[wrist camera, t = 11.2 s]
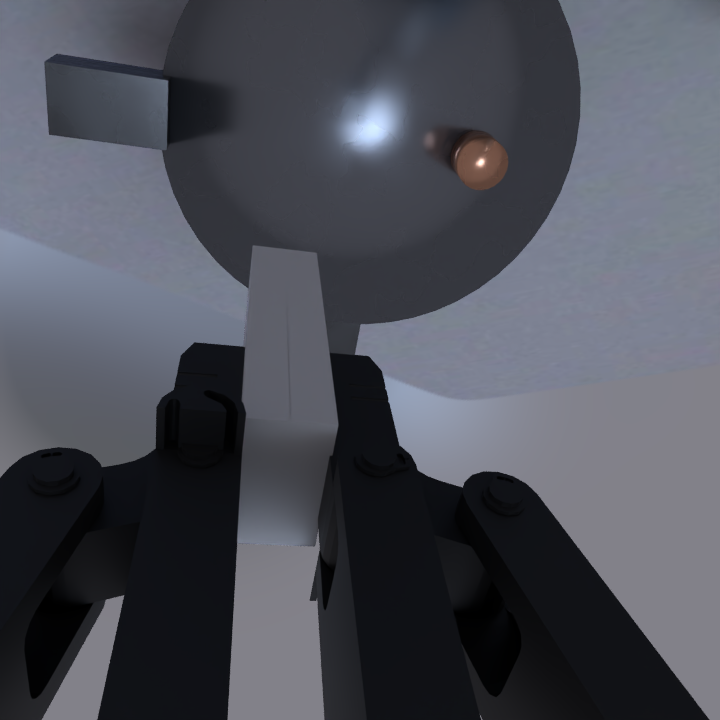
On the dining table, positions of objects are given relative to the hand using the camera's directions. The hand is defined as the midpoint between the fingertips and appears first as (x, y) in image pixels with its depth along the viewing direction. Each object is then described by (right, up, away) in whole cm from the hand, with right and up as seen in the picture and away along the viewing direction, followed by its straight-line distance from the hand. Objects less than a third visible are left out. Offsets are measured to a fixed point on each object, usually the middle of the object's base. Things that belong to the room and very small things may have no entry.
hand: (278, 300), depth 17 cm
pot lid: (0, +10, +17) cm, 20 cm away
